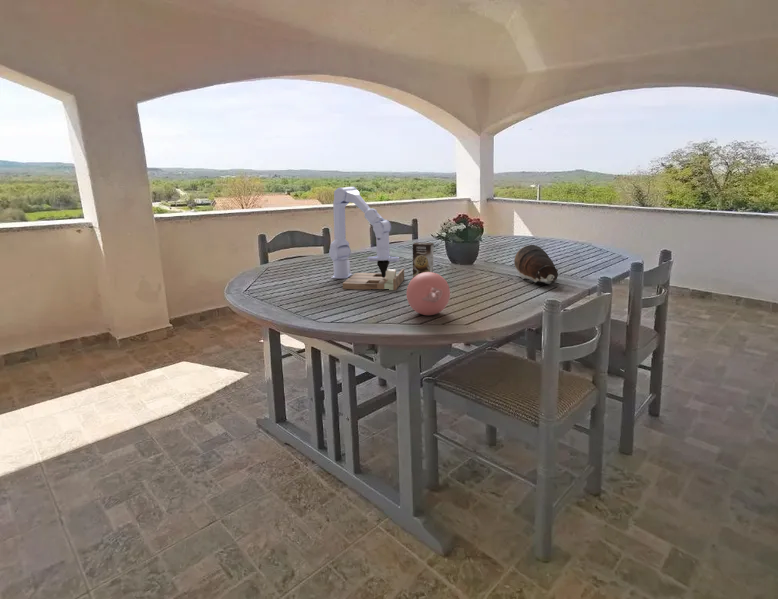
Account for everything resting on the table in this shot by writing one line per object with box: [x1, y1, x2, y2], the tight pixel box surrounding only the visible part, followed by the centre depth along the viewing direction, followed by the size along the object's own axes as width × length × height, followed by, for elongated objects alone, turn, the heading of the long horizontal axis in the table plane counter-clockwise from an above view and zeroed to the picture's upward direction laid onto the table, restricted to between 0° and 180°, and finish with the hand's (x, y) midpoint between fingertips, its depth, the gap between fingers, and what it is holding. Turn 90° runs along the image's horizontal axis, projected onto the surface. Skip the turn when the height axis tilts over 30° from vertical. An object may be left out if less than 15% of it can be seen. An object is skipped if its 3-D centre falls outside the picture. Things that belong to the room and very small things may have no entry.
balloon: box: [405, 271, 451, 316], centre depth 159 cm, size 15×20×15 cm
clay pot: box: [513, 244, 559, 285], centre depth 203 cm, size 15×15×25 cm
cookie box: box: [412, 241, 435, 278], centre depth 220 cm, size 9×6×16 cm
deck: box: [342, 268, 405, 291], centre depth 209 cm, size 21×24×5 cm
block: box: [386, 268, 397, 280], centre depth 207 cm, size 4×4×4 cm
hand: (383, 277), depth 208 cm, fingers closed
